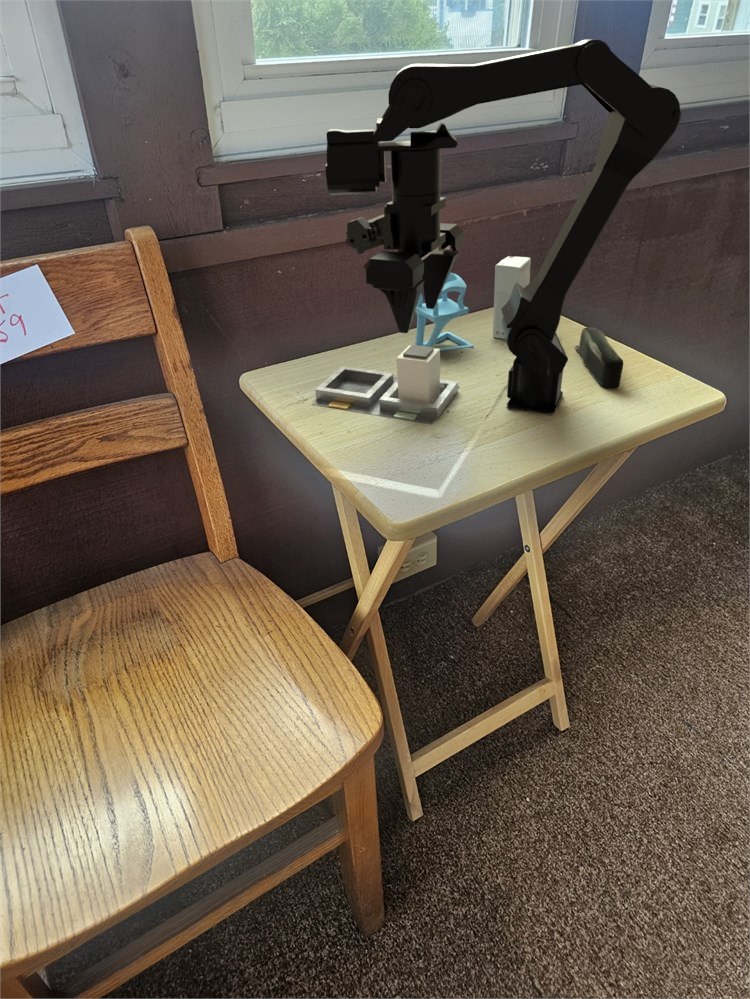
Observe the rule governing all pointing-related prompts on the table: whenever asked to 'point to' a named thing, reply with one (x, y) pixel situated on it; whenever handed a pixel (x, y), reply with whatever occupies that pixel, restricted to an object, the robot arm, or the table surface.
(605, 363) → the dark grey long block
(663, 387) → the table surface
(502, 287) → the skincare box
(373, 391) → the grey double tray
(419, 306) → the chair
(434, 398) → the plug
